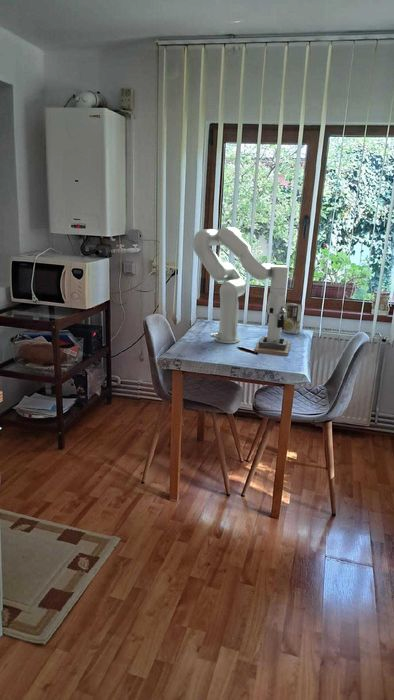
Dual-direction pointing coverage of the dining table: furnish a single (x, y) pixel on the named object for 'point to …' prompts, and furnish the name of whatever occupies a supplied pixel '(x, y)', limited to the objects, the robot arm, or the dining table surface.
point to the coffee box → (292, 318)
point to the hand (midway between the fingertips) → (274, 325)
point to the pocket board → (272, 347)
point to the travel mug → (273, 328)
